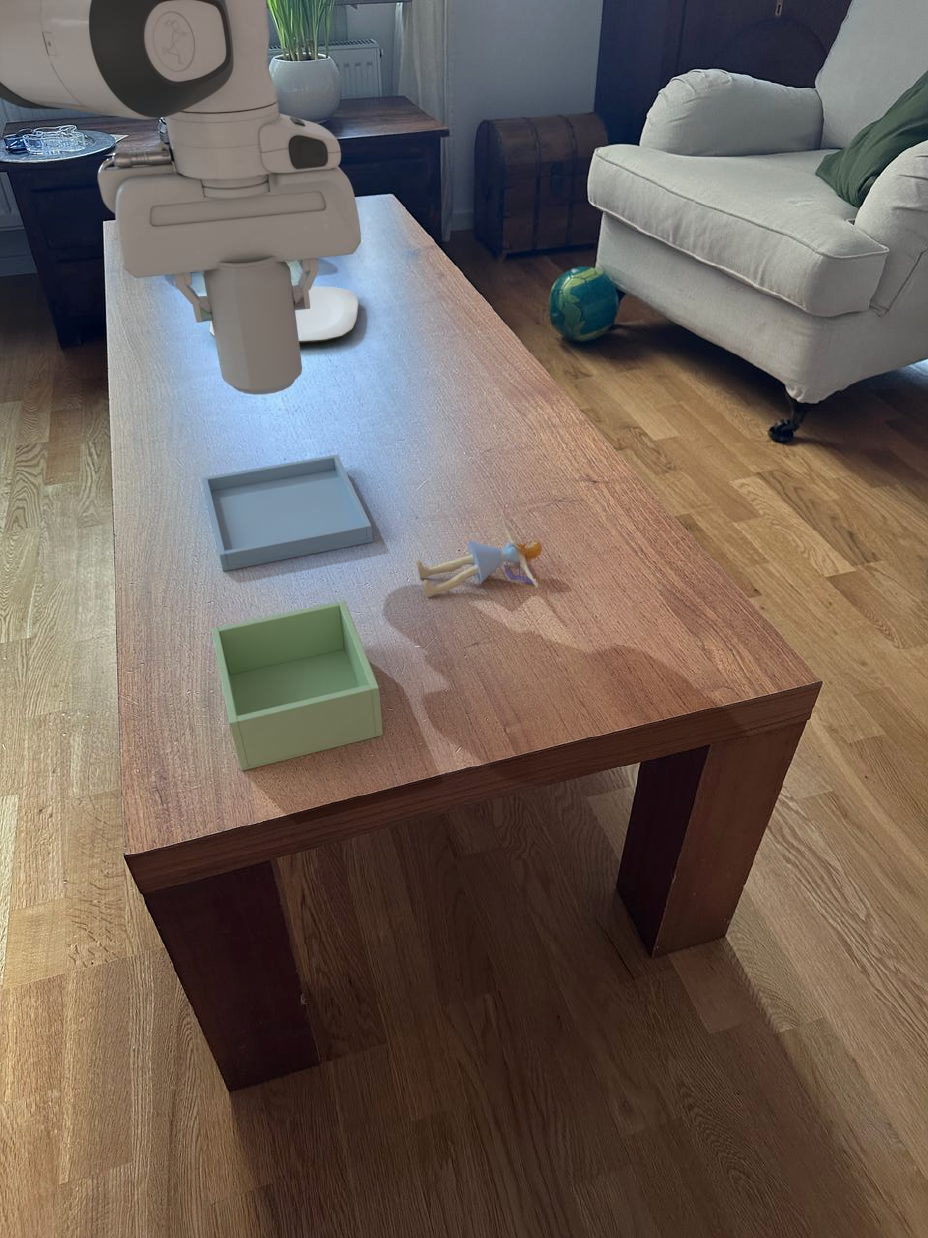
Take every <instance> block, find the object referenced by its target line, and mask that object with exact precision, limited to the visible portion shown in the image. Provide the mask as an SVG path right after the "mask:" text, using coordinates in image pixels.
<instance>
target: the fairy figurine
mask: <svg viewBox="0 0 928 1238" xmlns="http://www.w3.org/2000/svg"><path fill="white" fill-rule="evenodd" d="M501 522H502V526H503V529H504V532H505V535H506V537H507V541H508V542H507V543H506V544H505V547H501V548H499V547H496V546H492V545H490V544H489V545H488V544H484V543H481V542H477V541H473V540H468V543H467V544H468V545H467V546H468V552H469V555H466V556H461V557H460V558H458V559H454V560H449V561H445V562H442V563H440V564H438V565H436V566H433V567H425V566H424V565H423V563H422V561H421V560H419V559H418V560H416V565H417V566H416V568H417V572H418V577H419V579H420V580H421V579H424V578H428V577H429V576H434V575H437V574H438V575H439V574H445V573H452V572H455V571H457V570H459V569H461V568H462V567H464V566H466V565H471V567H469V568H467V569H465V570H463V571H462V572H460V573H458V574H456V575H455V576H453V577H452V578H450V579H449V580H447V581H444V583H442V584H440V585H437V586H433V585H431V583H430V581H429V579H424V580H423V586H424V589H425V590H424V591H425V595H426V598H430V597H433V596H435V595H438V594H440V593H443V592H446V591H451V590H453V589H455V588H457V587H459V586H460V584H462V583H463V582H465V581H467V579H468V578H470V577H473V576H475V577H476V580H477V582H478V583H479V584H480V585H481V584H482V583H483V582H484V581H485V580H486V579H487V578H489V576H491V575H492V573H494V572H495V571H496V570H497V569H498V568H499V567H500V566H501V565H502V564H503V563H504V562H506V563H505V567H504V569H505V572H506V575H507V577H508V578H510V579H511V580H515V581H516V580H520V581H523V582H526V583H529V584H531V585H533V586H534V587H536V588H538V587H539V583H538V581H537V579H536V578H535V577H534V575H533V573H532V572H531V568H530V567H529V565H528V562H530V561H532V560H533V559H537V558H538V557H539V556H540V555H542V551H543V547H542V543H541V542H540V541H538V540H537V539H534V540H531V541H528V542H525V543H520V542H518V543H516V542H515V541H514V538H513V537H512V534H511V533H510V531H509V530H508V527H507V524H506V521H505V518H504V517H503V516H501ZM509 562H510V563H513V565H516V564H517V567H516V568H515V566H513V567H512V570H511V571H510V567H509ZM521 568H522V571H523V574H522V575H521ZM514 569H515V570H518V574H516V575H515V573H513V574H512V572H514ZM524 573H525V575H526V576H525V575H524Z"/></svg>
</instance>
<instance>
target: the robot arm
mask: <svg viewBox="0 0 928 1238" xmlns="http://www.w3.org/2000/svg"><path fill="white" fill-rule="evenodd" d="M270 35H271V31H270V24H269V15H268V5H267V0H0V99H2V100H3V101H5V102H8V103H9V104H12V105H13V106H17V107H20V108H24V109H29V110H31V109H32V110H68V111H76V112H82V113H89V114H95V115H102V116H110V117H111V116H113V117H119V118H127V119H134V120H135V119H136V120H146V121H147V120H148V121H149V120H156V119H162V118H164V120H165V125H166V129H167V134H168V141H169V146H168V148H158V149H157V148H149V149H144V150H139V151H130V150H120V151H116V152H113V153H112V154H111V156H112V157H110V158H107V159H106V160H104V161H103V162H102V163H101V165H100V166H99V168H98V171H97V183H98V188H99V191H100V195H101V199H102V201H103V204H104V206H105V207H106V208H107V209H108V210H109V211H110V212H111V213H113V214H114V216H115V217H114V218H115V228H116V235H117V236H116V237H117V243H118V248H119V254H120V258H121V262H122V267H123V269H124V270H125V271H126V272H128V273H129V274H130V276H132V277H133V278H136V279H142V278H143V279H144V278H150V277H151V278H152V277H160V276H170V275H173V279H174V283H175V287H176V288H177V289H178V291H180V293H181V294H182V295H183V297H184V298H186V299H187V301H188V302H189V303H190V305H192V310H193V314H194V318H195V321H196V323H198V324H199V323H205V322H211V321H213V315H212V314H211V305H210V302H209V300H208V298H207V295H198V294H197V292H196V291H195V290H194V289H193V288H192V286H191V285H192V284H193V279H192V273H197V272H204V271H206V270H216V269H219V267H220V266H219V265H217V263H218V262H224V263H251V262H257V261H262V260H265V259H268V258H270V257H272V256H275V257H277V259H276V260H275V261H276V262H277V263H279V262H286V263H288V262H294V261H298V264H299V266H300V268H301V269H302V272H301V275H300V277H299V280H298V282H297V284H292V289H293V292H292V293H293V300H294V310H303V309H310V299H309V290H310V289H311V286H313V284H314V282H315V280H316V277H317V275H318V273H319V271H320V270H319V269H320V268H319V259H321V258H322V259H323V258H330V257H331V258H333V257H340V256H341V257H342V256H350V255H353V254H355V253H356V252H357V250H358V248H359V246H360V245H361V243H362V232H361V223H360V217H359V211H358V206H357V200H356V197H355V192H354V189H353V186H352V183H351V181H350V179H349V177H348V176H347V175H346V174H345V172H344V171H343V170H342V169H341V168H340V166H339V165H340V163H341V160H342V159H341V158H342V151H341V146H340V145H341V144H340V143H339V141H338V138H337V137H336V136H335V135H334V134H333V133H332V132H331V131H330V130H329V129H327V128H325V127H324V126H322V125H320V124H318V123H315V122H312V121H309V120H305V119H301V118H299V117H295V116H290V115H287V114H283V113H280V108H279V106H280V105H279V98H278V94H277V89H276V86H275V84H274V82H273V78H272V75H271V72H270V65H269V48H270V47H269V46H270V39H271V38H270V37H271V36H270ZM172 161H173V162H174V166H175V168H174V167H173V163H172ZM111 165H114V166H113V167H109V166H111Z"/></svg>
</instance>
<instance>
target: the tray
mask: <svg viewBox="0 0 928 1238" xmlns="http://www.w3.org/2000/svg"><path fill="white" fill-rule="evenodd" d="M201 482H202V486H203V491H204V495H205V499H206V504H207V509H208V512H209V517H210V521H211V526H212V529H213V535H214V538H215V542H216V547H217V552H218V557H219V560H220V564H221V568H222V572H227V571H231V570H232V571H233V570H236V569H237V570H238V569H242V568H247V567H252V566H258V565H262V564H267V563H274V562H278V561H283V560H288V559H293V558H299V557H304V556H307V555H313V554H318V553H323V552H328V551H329V552H330V551H334V550H338V549H344V548H349V547H353V546H359V545H365V544H369V543H374V538H373V537H374V536H373V527H372V524H371V521H370V519H369V518H368V515H367V513H366V510H365V509H364V507H363V504H362V503H361V501H360V499H359V496H358V494H357V492H356V490H355V488H354V486H353V483H352V481H351V479H350V477H349V476H348V473H347V471H346V469H345V467H344V465H343V463H342V460H341V459H340V456H339V455H338V454H334V455H327V456H321V457H315V458H310V459H303V460H298V461H293V462H286V463H280V464H273V465H268V466H262V467H257V468H251V469H245V470H239V471H233V472H227V473H222V474H215V475H210V476H204V477H201Z"/></svg>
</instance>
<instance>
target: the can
mask: <svg viewBox="0 0 928 1238" xmlns="http://www.w3.org/2000/svg"><path fill="white" fill-rule="evenodd" d="M276 259H277V257H275V256H272V257H270V258H268V259H265V260H262V261H257V262H251V263H224V262H218V263H217V265H219V266H220V267H219V269H216V270H206V271H202V277H203V283H204V288H205V293H206V296H207V298H208V300H209V302H210V305H211V314H212V315H213V321H212V326H213V331H214V336H213V338H214V341H215V347H216V352H217V358H218V364H219V369H220V375H221V378H222V380H223V382H225V383H226V384H228V385H229V386H230V387H232V388H233V389H234V390H236V391H237V392H240V393H243V394H247V395H255V396H258V395H259V396H260V395H269V394H270V395H271V394H275V393H280V392H282V391H284V390H286V389H288V388H290V387H291V386H292V385H293V384H294V383H295V381H296V380H297V379H298V378H299V377H300V376H301V375H302V373H303V372H302V371H303V365H302V355H301V348H300V343H299V338H298V330H297V322H296V314H295V310H294V300H293V293H292V292H293V289H292V285H293V281H292V274H291V267H290V266H289V263H288V262H279V263H277V262H276V261H275V260H276Z"/></svg>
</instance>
